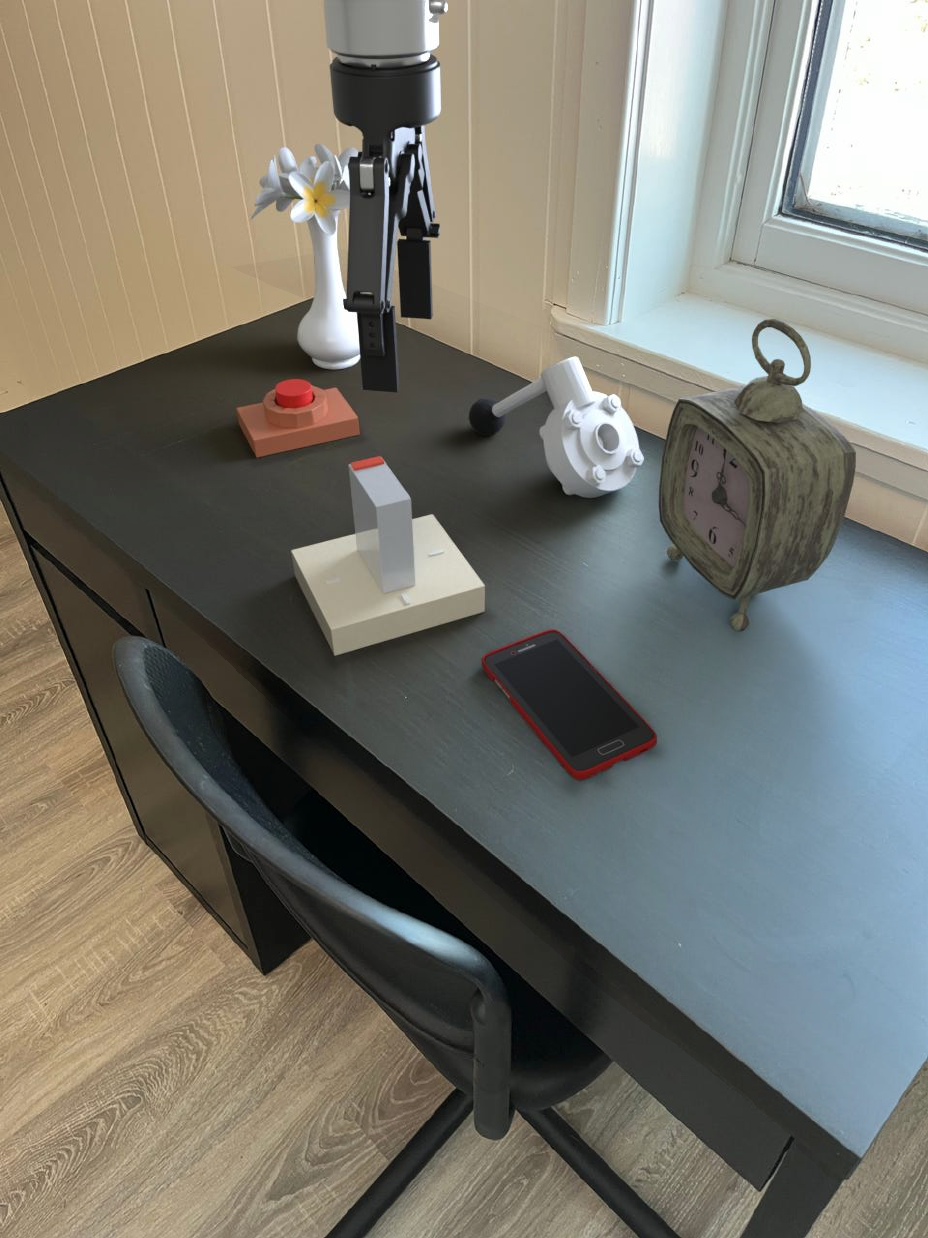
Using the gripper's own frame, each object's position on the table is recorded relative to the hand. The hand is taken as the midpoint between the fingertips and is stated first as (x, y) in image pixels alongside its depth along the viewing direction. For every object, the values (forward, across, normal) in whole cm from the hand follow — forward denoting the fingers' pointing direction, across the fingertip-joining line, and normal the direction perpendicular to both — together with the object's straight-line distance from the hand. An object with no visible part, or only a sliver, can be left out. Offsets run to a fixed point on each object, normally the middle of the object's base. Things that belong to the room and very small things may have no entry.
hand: (400, 350), depth 78 cm
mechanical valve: (+20, +17, -11) cm, 29 cm away
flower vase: (+20, +39, +18) cm, 48 cm away
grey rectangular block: (+17, -7, +1) cm, 19 cm away
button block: (+20, +20, +17) cm, 34 cm away
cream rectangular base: (+20, -7, +1) cm, 21 cm away
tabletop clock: (+20, -1, -30) cm, 36 cm away
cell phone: (+20, -18, -16) cm, 32 cm away
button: (+17, +20, +17) cm, 32 cm away
